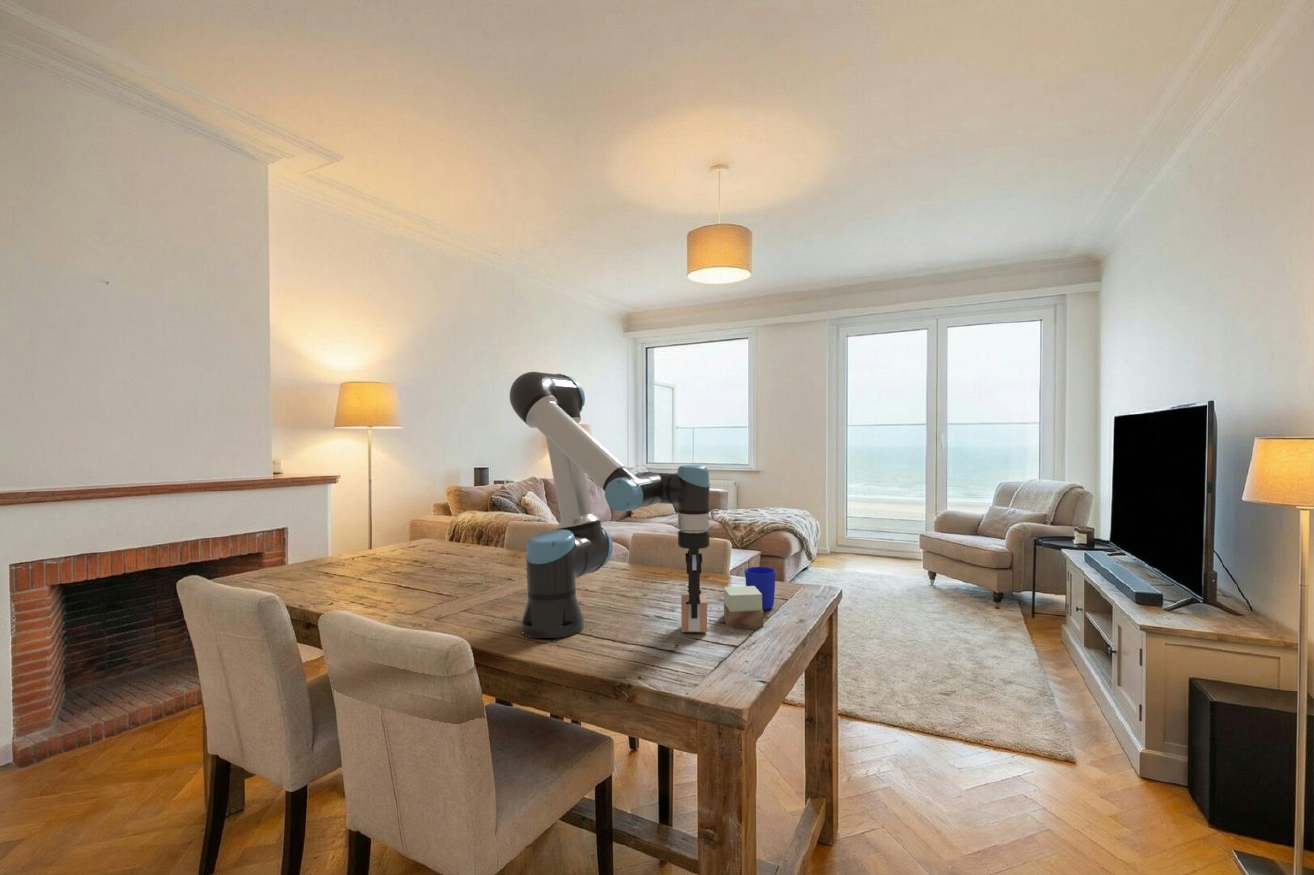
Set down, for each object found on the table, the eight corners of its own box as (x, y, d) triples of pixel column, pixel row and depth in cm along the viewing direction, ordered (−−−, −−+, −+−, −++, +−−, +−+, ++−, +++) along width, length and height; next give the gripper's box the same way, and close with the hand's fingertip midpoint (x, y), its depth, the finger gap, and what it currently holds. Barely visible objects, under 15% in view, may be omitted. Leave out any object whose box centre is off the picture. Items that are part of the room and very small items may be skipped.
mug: (773, 598, 168) (772, 563, 168) (777, 612, 156) (777, 574, 156) (744, 598, 169) (743, 563, 169) (746, 611, 157) (745, 573, 157)
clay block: (681, 632, 141) (681, 602, 141) (681, 623, 147) (681, 595, 147) (707, 632, 141) (706, 602, 140) (706, 623, 147) (706, 595, 146)
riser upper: (729, 611, 146) (729, 595, 146) (724, 602, 154) (723, 587, 154) (762, 610, 146) (761, 594, 146) (754, 601, 154) (754, 585, 154)
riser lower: (726, 628, 146) (725, 612, 146) (724, 616, 155) (723, 601, 155) (763, 628, 145) (763, 612, 145) (759, 616, 154) (758, 601, 154)
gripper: (711, 537, 134) (711, 640, 134) (707, 523, 153) (707, 613, 153) (677, 537, 134) (678, 640, 134) (678, 523, 153) (678, 613, 153)
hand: (693, 625), depth 144 cm, fingers closed on clay block, 6 cm apart
